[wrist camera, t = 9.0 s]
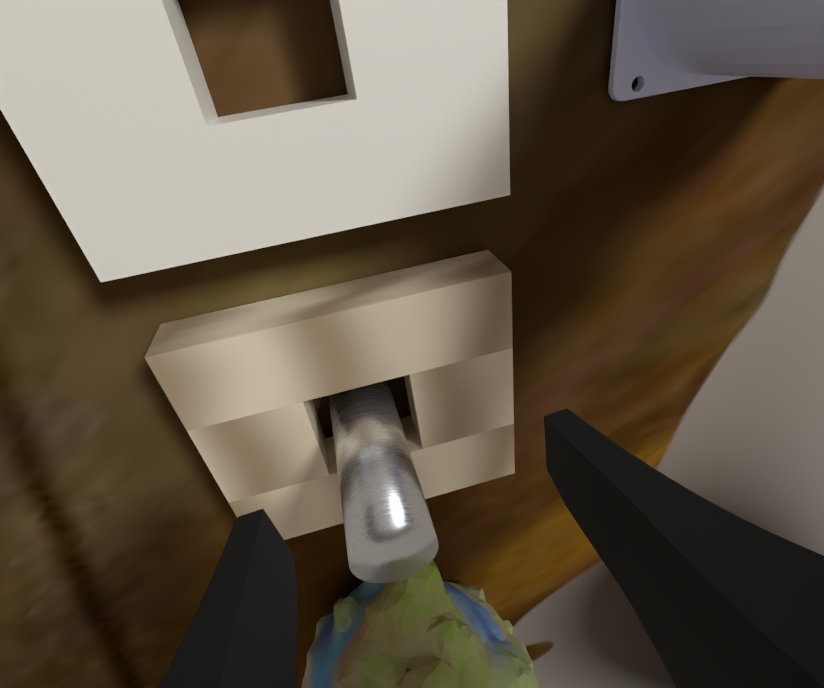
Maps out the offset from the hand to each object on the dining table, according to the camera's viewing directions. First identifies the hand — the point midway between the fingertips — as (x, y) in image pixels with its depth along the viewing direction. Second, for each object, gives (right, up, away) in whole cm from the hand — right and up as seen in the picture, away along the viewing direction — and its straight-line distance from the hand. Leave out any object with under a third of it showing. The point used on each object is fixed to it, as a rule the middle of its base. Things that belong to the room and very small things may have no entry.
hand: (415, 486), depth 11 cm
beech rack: (-3, +1, +11) cm, 11 cm away
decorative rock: (0, -13, +21) cm, 24 cm away
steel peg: (-3, +1, +11) cm, 11 cm away
